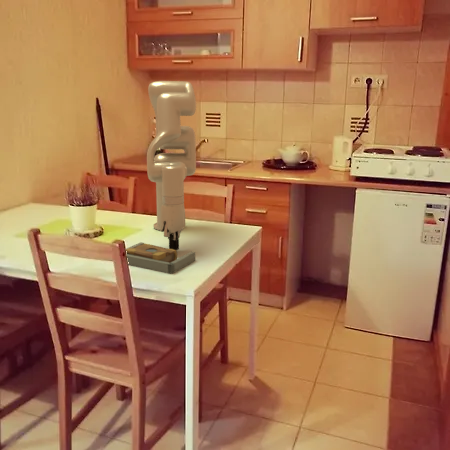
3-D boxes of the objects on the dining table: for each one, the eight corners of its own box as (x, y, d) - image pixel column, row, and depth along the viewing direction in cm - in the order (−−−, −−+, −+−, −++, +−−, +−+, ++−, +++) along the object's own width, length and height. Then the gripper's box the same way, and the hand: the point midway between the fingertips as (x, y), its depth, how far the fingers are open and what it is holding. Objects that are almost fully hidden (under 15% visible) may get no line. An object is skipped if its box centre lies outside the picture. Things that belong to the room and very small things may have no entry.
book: (125, 261, 167) (124, 247, 165) (146, 253, 176) (145, 239, 174) (158, 269, 159) (158, 255, 158) (178, 260, 168) (178, 246, 167)
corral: (141, 250, 178) (140, 242, 177) (195, 260, 168) (195, 252, 167) (115, 261, 165) (114, 253, 164) (171, 273, 155) (171, 264, 154)
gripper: (176, 195, 179) (176, 242, 184) (151, 202, 167) (153, 253, 172) (193, 197, 176) (193, 245, 181) (169, 205, 163) (170, 257, 168)
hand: (174, 249), depth 176 cm, fingers closed
